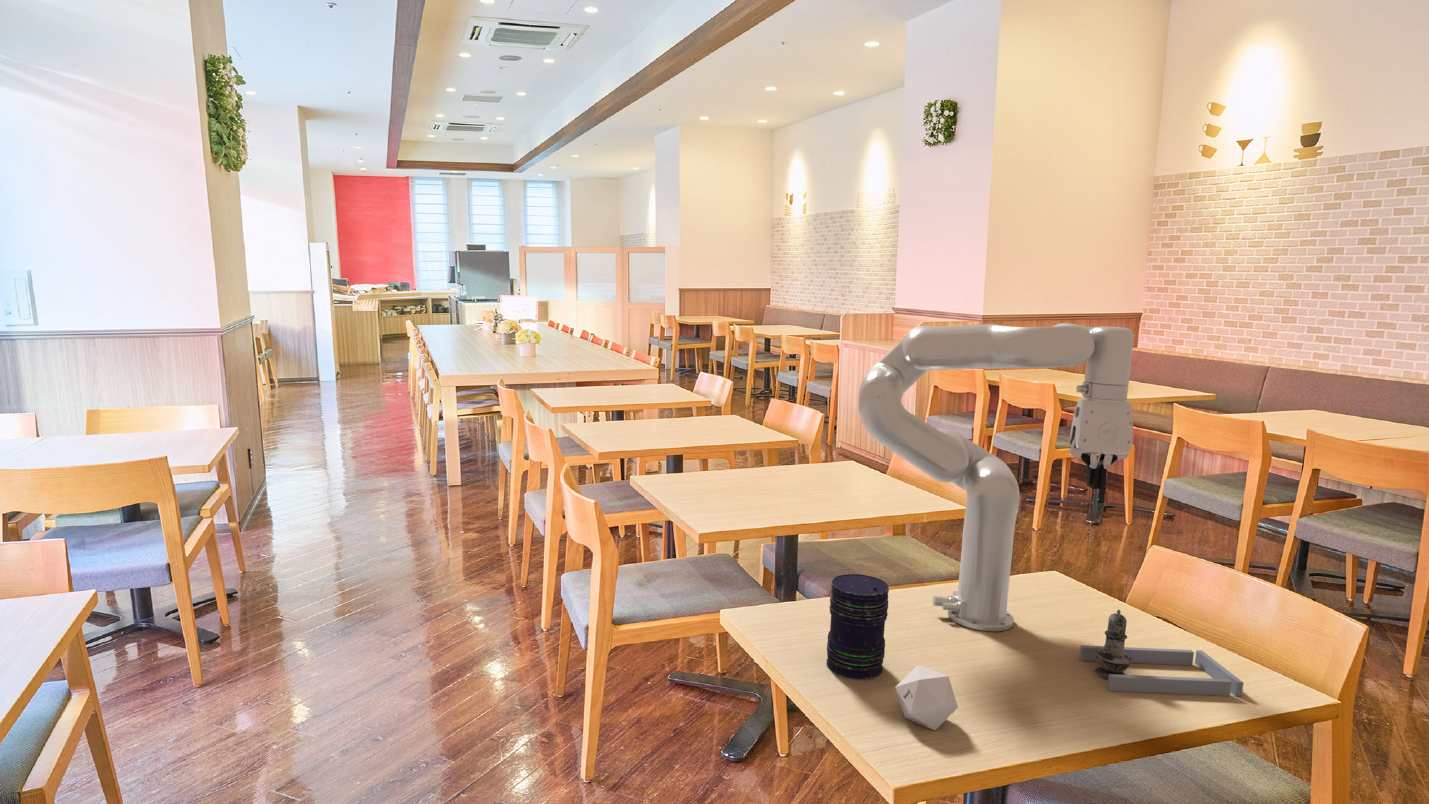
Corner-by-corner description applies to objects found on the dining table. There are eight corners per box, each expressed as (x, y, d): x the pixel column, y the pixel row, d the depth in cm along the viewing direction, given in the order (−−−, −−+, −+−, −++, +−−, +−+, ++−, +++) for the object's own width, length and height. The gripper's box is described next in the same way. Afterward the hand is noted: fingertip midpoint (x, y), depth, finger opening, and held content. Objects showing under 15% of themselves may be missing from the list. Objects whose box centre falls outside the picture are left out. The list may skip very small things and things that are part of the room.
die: (897, 705, 131) (881, 672, 126) (945, 680, 131) (931, 646, 126) (921, 748, 124) (905, 715, 119) (971, 722, 124) (958, 688, 119)
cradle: (1110, 690, 137) (1111, 676, 137) (1079, 658, 149) (1080, 645, 149) (1241, 696, 137) (1243, 682, 137) (1200, 663, 149) (1201, 650, 149)
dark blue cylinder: (814, 665, 142) (819, 583, 140) (846, 648, 149) (851, 569, 147) (863, 686, 136) (869, 600, 133) (894, 667, 143) (900, 585, 140)
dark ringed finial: (1127, 670, 145) (1135, 606, 143) (1132, 685, 140) (1140, 618, 138) (1090, 664, 147) (1098, 600, 145) (1094, 679, 141) (1102, 612, 140)
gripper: (1073, 393, 150) (1063, 491, 153) (1155, 397, 150) (1143, 494, 153) (1057, 388, 158) (1047, 481, 160) (1135, 391, 158) (1124, 484, 160)
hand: (1094, 487), depth 157 cm, fingers closed
